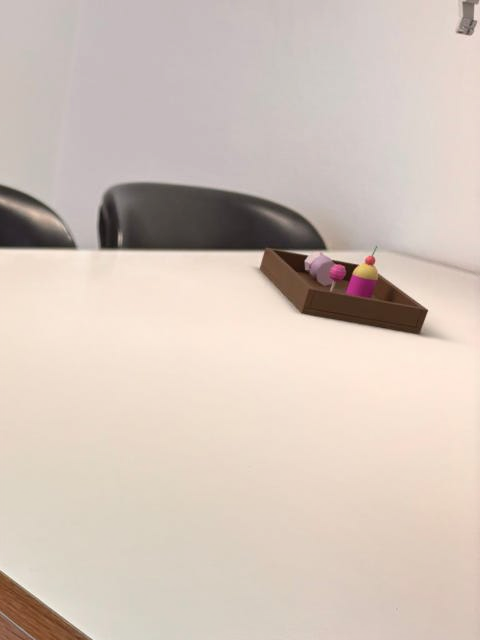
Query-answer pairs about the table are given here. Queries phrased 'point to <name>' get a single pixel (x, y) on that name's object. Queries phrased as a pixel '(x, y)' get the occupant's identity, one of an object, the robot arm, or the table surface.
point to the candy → (343, 274)
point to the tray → (342, 295)
